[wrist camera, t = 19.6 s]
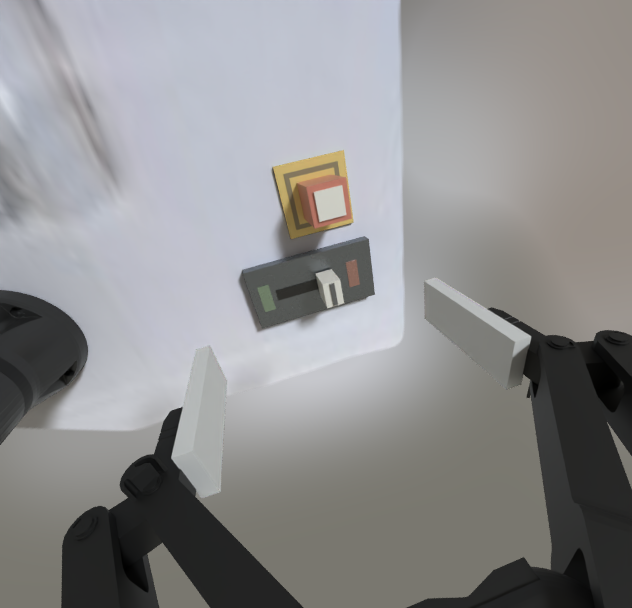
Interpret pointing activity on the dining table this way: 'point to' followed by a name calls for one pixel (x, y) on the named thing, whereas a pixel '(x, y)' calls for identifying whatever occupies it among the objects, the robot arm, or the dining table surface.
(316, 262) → the breaker panel
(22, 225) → the dining table surface
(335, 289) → the switch
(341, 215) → the cap
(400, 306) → the dining table surface
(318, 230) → the pad
